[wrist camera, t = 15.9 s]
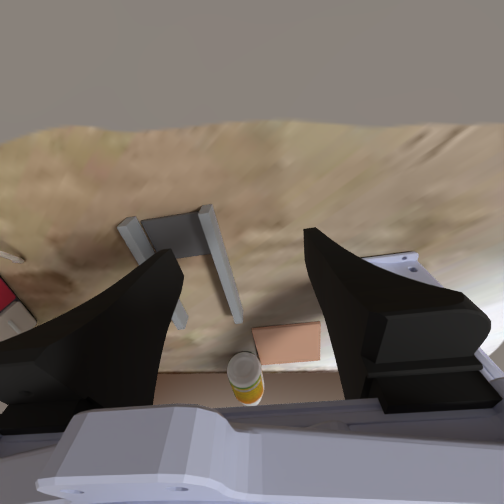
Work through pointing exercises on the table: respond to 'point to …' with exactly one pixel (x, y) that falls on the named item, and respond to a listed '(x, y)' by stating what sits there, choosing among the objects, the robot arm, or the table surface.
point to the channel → (184, 248)
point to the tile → (288, 343)
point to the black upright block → (13, 314)
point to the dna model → (11, 257)
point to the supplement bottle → (246, 378)
